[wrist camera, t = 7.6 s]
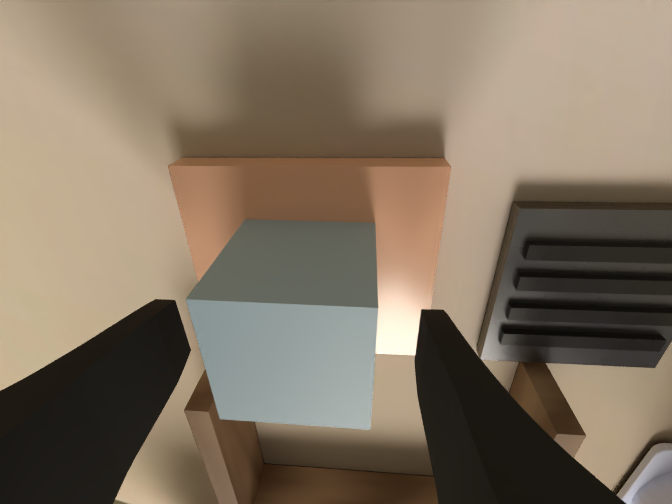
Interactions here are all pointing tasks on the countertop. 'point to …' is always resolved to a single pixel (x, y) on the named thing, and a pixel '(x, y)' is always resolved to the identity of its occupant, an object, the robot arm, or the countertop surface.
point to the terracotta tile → (329, 218)
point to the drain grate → (582, 285)
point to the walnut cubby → (346, 485)
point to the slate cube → (291, 323)
